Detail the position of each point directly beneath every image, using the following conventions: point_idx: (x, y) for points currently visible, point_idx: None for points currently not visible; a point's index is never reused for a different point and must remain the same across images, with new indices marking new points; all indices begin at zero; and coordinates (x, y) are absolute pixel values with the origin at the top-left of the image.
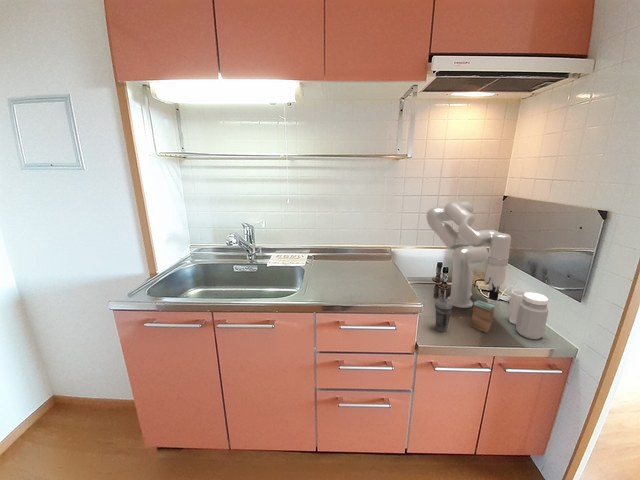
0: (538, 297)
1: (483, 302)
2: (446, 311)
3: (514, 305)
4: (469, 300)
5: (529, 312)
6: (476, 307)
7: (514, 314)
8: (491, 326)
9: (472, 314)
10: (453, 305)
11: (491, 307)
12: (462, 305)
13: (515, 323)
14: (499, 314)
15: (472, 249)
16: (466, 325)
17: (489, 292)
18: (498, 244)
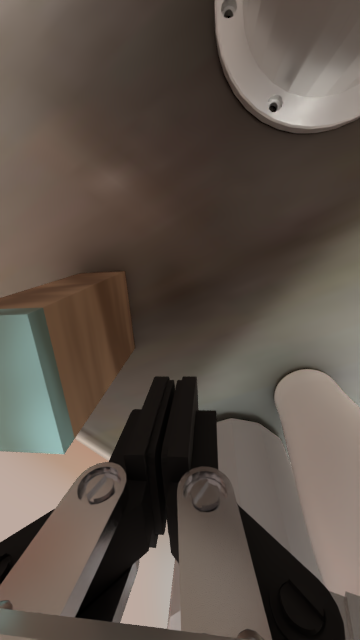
0: None
1: (28, 374)
2: None
3: (300, 484)
4: (350, 77)
5: (169, 612)
6: None
7: (285, 431)
8: (127, 356)
9: (32, 288)
10: (215, 19)
11: (9, 449)
12: (253, 81)
13: (275, 404)
14: (339, 310)
15: None
16: (65, 255)
17: (136, 425)
18: None
